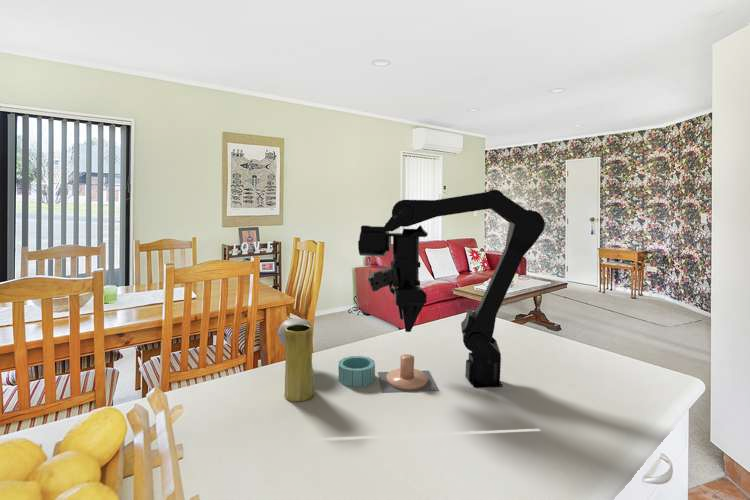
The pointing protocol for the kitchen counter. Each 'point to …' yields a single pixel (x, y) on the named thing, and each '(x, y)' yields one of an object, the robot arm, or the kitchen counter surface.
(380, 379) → the mat
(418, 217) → the robot arm
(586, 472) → the kitchen counter surface
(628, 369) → the kitchen counter surface
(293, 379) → the vase
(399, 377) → the lid
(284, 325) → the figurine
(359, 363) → the bowl
